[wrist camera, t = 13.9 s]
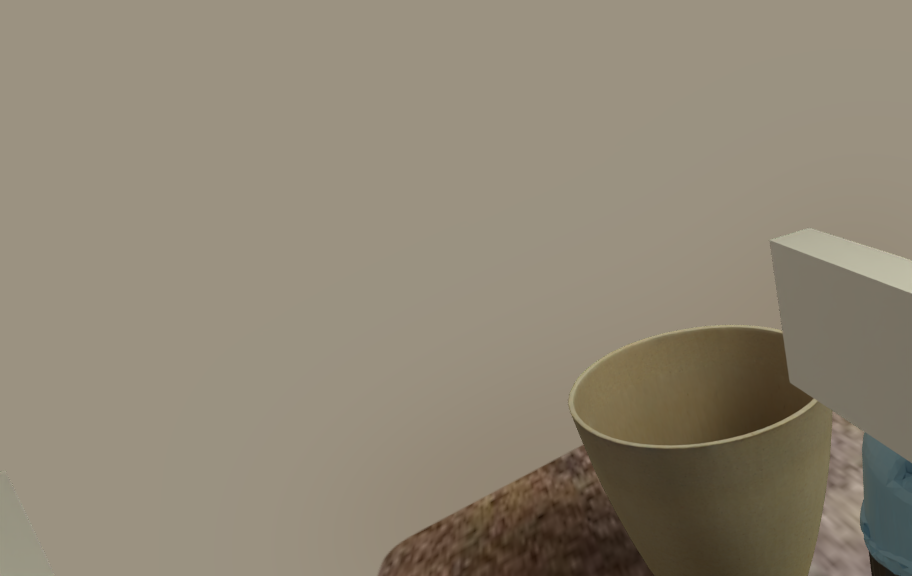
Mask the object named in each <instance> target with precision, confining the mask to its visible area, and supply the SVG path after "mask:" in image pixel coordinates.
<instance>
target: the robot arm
mask: <svg viewBox="0 0 912 576" xmlns="http://www.w3.org/2000/svg"><path fill="white" fill-rule="evenodd" d="M770 247H771V255H772V261H773V268H774V275H775V282H776V290H777V297H778V303H779V311H780V317H781V324H782V332H783V339H784V346H785V353H786V360H787V367H788V374H789V381H790V383H791V384H793V385H794V386H796V387H797V388H799V389H800V390H802V391H803V392H805V393H806V394H808V395H809V396H811V397H812V398H814V399H816V400H817V401H819V402H820V403H822V404H823V405H825V406H826V407H828V408H829V409H831V410H832V411H834V412H835V413H837V414H838V415H840V416H841V417H843V418H844V419H846V420H847V421H849V422H850V423H852V424H853V425H855V426H856V427H858V428H859V429H861V430H862V431H864V432H865V433H864V437H863V447H862V459H863V484H864V500H863V503H862V507H861V513H860V526H861V530H862V532H863V534H864V540H865V544H866V546H867V548H868V550H869V556H870V564H871V572H872V576H912V260H909V259H906V258H903V257H900V256H897V255H893V254H890V253H887V252H884V251H881V250H878V249H875V248H872V247H869V246H865V245H862V244H859V243H856V242H853V241H850V240H846V239H844V238H840V237H837V236H834V235H831V234H828V233H825V232H821V231H818V230H815V229H812V228H808V229H805V230H801V231H798V232H795V233H792V234H788V235H785V236H781V237H778V238H775V239H771V240H770ZM0 576H55V574H54V572H53V570H52V568H51V565H50V564H49V561H48V559H47V557H46V555H45V553H44V551H43V548H42V546H41V544H40V542H39V540H38V538H37V536H36V534H35V532H34V530H33V527H32V526H31V523H30V521H29V519H28V517H27V515H26V513H25V511H24V508H23V506H22V504H21V502H20V500H19V498H18V496H17V494H16V492H15V489H14V487H13V485H12V483H11V481H10V479H9V477H8V475H7V473H6V470H3V471H0Z"/></svg>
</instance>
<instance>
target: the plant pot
mask: <svg viewBox="0 0 912 576" xmlns="http://www.w3.org/2000/svg"><path fill="white" fill-rule="evenodd" d="M568 403H569V404H568V405H569V409H570V412H571V415H572V417H573V420H574V422H575V425H576V427H577V430H578V432H579V434H580V437H581V439H582V442H583V444H584V446H585V449H586V451H587V453H588V456H589V458H590V461H591V463H592V465H593V467H594V470H595V472H596V474H597V476H598V478H599V480H600V482H601V485H602V487H603V489H604V491H605V493H606V494H607V496H608V498H609V500H610V502H611V504H612V506H613V508H614V510H615V512H616V514H617V515H618V517H619V519H620V521H621V523H622V524H623V526H624V528H625V530H626V531H627V533H628V535H629V537H630V538H631V540H632V542H633V543H634V545H635V547H636V548H637V550H638V552H639V553H640V555H641V556H642V558H643V560H644V561H645V563H646V564H647V566H648V567H649V569H650V570H651V572H652V573H653V575H654V576H808V573H809V569H810V565H811V562H812V558H813V554H814V550H815V545H816V541H817V537H818V532H819V527H820V522H821V516H822V511H823V505H824V499H825V493H826V485H827V478H828V470H829V460H830V448H831V432H832V410H831V409H829V408H828V407H826V406H825V405H823V404H822V403H820V402H819V401H817V400H816V399H814V398H812V397H811V396H809V395H808V394H806V393H805V392H803V391H802V390H800V389H799V388H797V387H796V386H794V385H793V384H791V383H790V381H789V374H788V367H787V360H786V353H785V346H784V339H783V332H782V330H778V329H773V328H768V327H758V326H750V325H749V326H748V325H718V326H704V327H696V328H689V329H683V330H678V331H673V332H668V333H663V334H659V335H656V336H652V337H648V338H645V339H642V340H640V341H637V342H634V343H631V344H628V345H626V346H624V347H622V348H619V349H617V350H615V351H613V352H611V353H609V354H608V355H606V356H604V357H603V358H601V359H599V360H598V361H596V362H595V363H594V364H592V365H591V366H590V367H588V368H587V369H586V370H585V371H584V372H583V373H582V374H581V375H580V376H579V377H578V379H577V380H576V382H575V383H574V385H573V387H572V389H571V391H570V394H569V400H568Z"/></svg>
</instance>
